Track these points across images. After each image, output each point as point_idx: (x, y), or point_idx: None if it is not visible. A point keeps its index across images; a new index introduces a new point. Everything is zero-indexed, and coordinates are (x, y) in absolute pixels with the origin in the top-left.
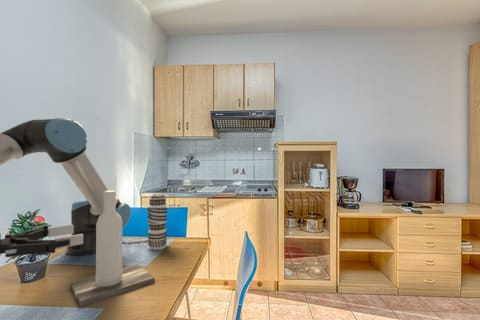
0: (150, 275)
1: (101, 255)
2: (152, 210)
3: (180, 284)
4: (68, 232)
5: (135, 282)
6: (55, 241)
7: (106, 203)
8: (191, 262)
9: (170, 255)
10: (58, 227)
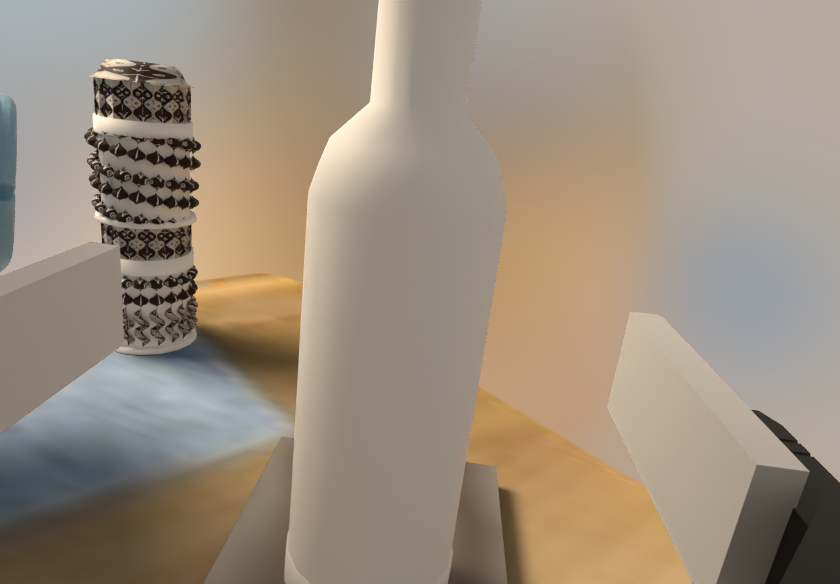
0: None
1: (435, 459)
2: (144, 151)
3: (583, 453)
4: (93, 345)
5: (489, 526)
6: (803, 509)
7: (463, 13)
8: None
9: (294, 359)
10: (3, 299)
